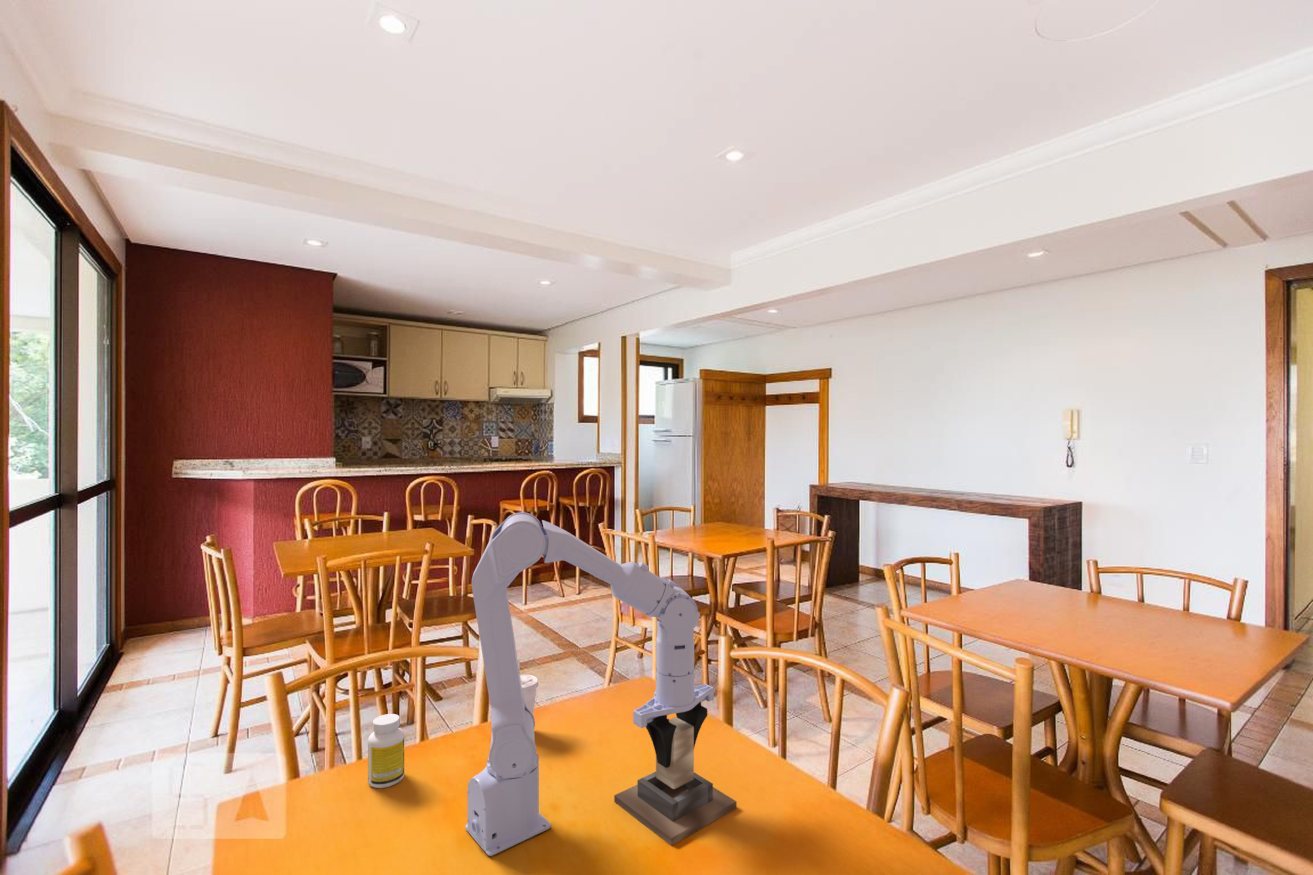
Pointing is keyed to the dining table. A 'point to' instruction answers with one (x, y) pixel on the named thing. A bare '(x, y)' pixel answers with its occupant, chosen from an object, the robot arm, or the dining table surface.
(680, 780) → the square peg
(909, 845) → the dining table surface
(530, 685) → the smoothie
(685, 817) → the socket block
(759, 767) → the dining table surface
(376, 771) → the supplement bottle
